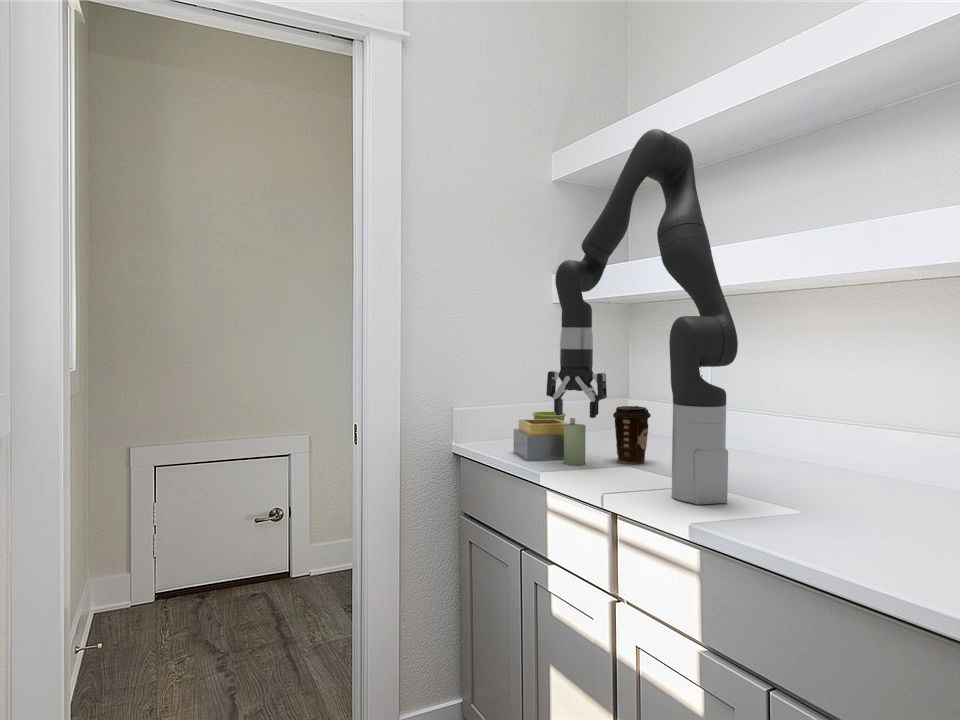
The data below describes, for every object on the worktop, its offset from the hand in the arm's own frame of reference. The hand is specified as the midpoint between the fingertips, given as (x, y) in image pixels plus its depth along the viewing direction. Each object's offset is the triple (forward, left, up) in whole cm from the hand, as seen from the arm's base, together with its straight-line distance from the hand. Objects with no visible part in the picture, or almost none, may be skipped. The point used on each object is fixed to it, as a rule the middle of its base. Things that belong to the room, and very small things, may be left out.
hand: (575, 416), depth 150 cm
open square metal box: (+11, +4, -11) cm, 16 cm away
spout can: (0, 0, -11) cm, 11 cm away
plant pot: (+27, -3, -11) cm, 29 cm away
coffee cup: (-1, -14, -11) cm, 18 cm away
